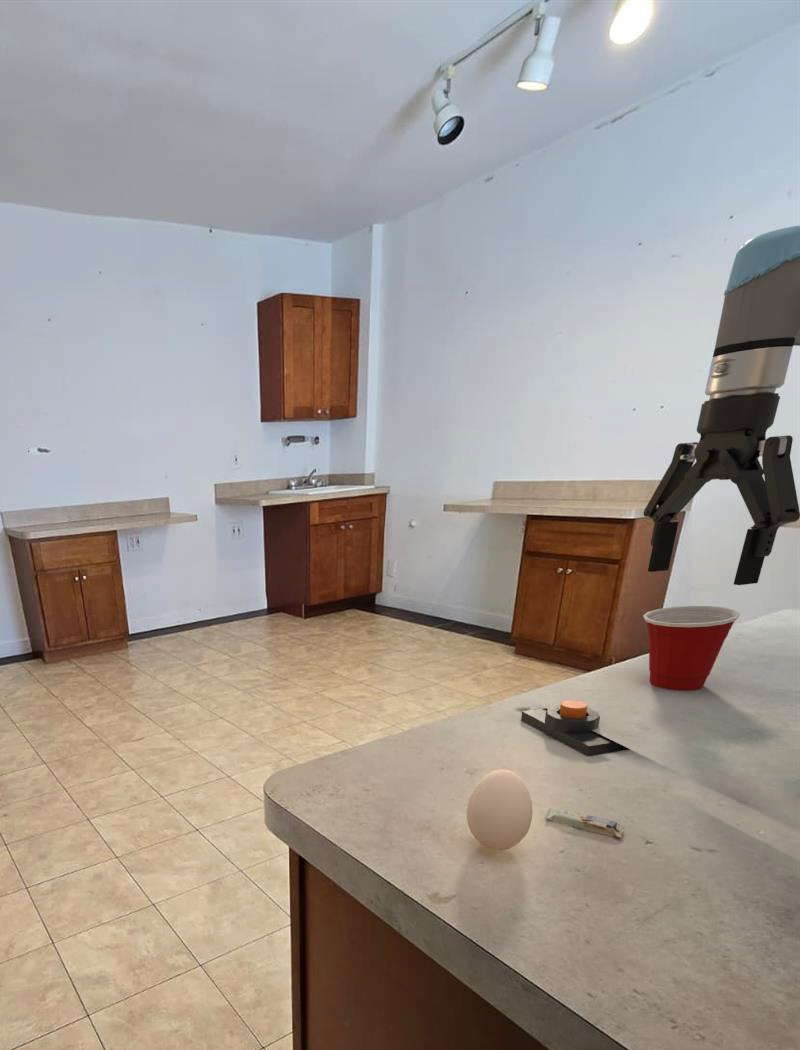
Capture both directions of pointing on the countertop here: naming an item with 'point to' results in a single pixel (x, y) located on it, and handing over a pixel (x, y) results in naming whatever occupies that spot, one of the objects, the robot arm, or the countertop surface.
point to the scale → (572, 730)
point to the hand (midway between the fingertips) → (698, 577)
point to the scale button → (573, 709)
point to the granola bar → (585, 822)
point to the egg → (499, 810)
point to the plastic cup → (686, 644)
